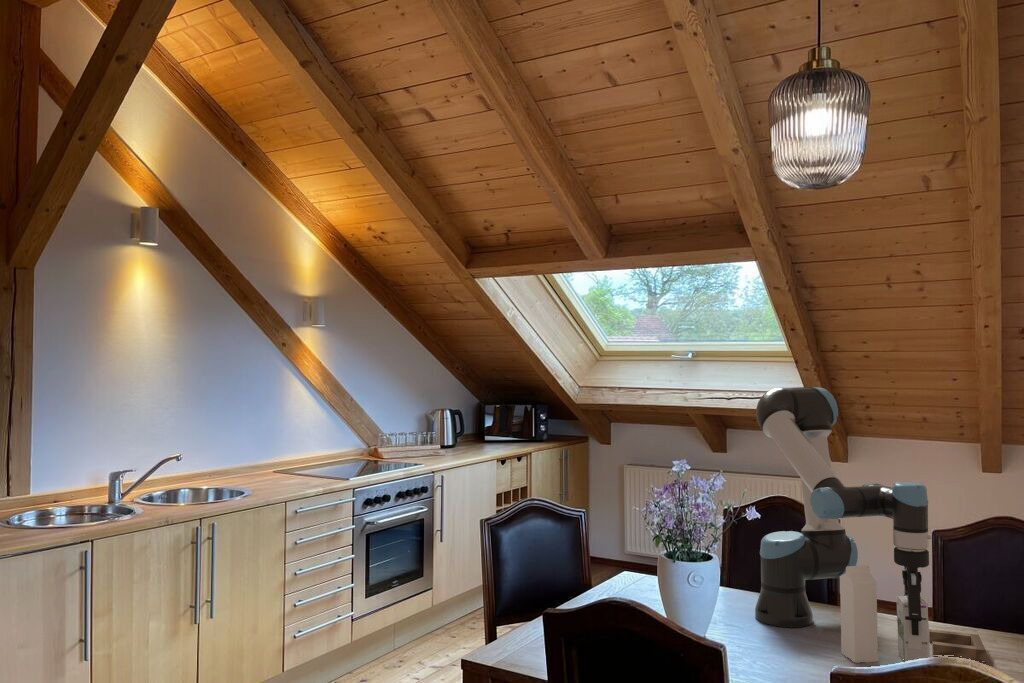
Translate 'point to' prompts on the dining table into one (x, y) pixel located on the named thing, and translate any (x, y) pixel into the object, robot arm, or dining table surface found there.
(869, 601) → the milk
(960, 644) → the brown square tray
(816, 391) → the robot arm
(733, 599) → the dining table surface
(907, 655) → the syrup box
